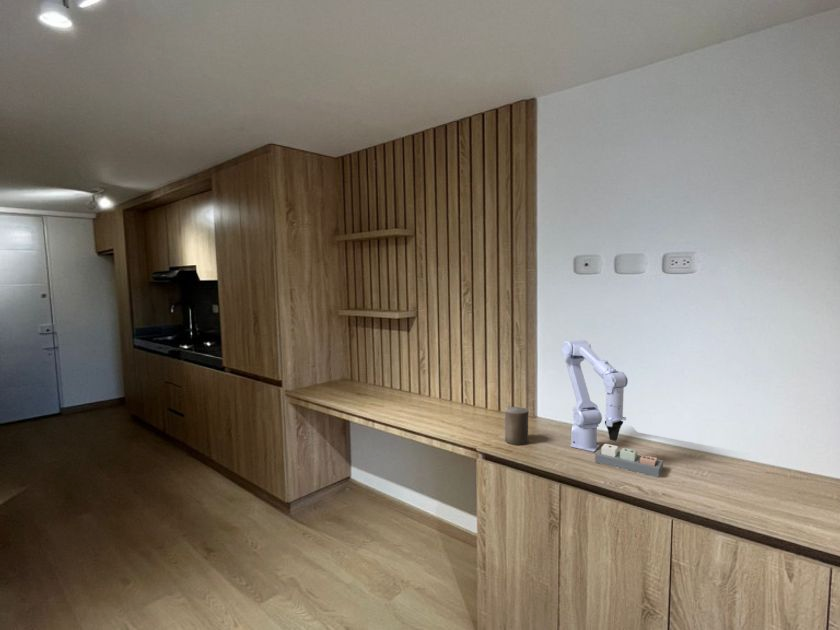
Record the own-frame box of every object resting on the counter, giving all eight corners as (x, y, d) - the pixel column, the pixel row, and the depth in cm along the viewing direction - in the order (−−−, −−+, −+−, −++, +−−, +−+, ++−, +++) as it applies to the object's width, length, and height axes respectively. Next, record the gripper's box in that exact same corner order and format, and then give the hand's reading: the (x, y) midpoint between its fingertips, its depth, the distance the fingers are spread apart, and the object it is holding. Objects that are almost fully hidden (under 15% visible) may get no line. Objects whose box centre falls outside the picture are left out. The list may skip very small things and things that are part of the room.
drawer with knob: (601, 457, 162) (601, 446, 162) (604, 453, 166) (605, 443, 165) (614, 460, 159) (615, 449, 159) (618, 456, 163) (618, 445, 162)
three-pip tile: (639, 469, 154) (639, 458, 154) (642, 465, 158) (642, 454, 157) (654, 473, 151) (654, 461, 151) (656, 468, 155) (657, 457, 155)
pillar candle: (528, 446, 178) (529, 410, 177) (504, 444, 180) (504, 409, 178) (527, 437, 187) (528, 404, 186) (504, 436, 189) (505, 402, 188)
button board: (595, 462, 161) (595, 454, 161) (601, 454, 168) (602, 447, 168) (658, 477, 148) (658, 469, 148) (662, 468, 156) (663, 460, 155)
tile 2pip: (619, 462, 158) (620, 450, 158) (622, 457, 162) (623, 446, 161) (634, 465, 155) (634, 453, 155) (637, 460, 159) (637, 449, 158)
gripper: (621, 411, 152) (620, 448, 153) (630, 401, 163) (629, 436, 165) (600, 407, 156) (599, 444, 157) (610, 398, 168) (609, 432, 169)
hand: (613, 440), depth 161 cm, fingers closed
